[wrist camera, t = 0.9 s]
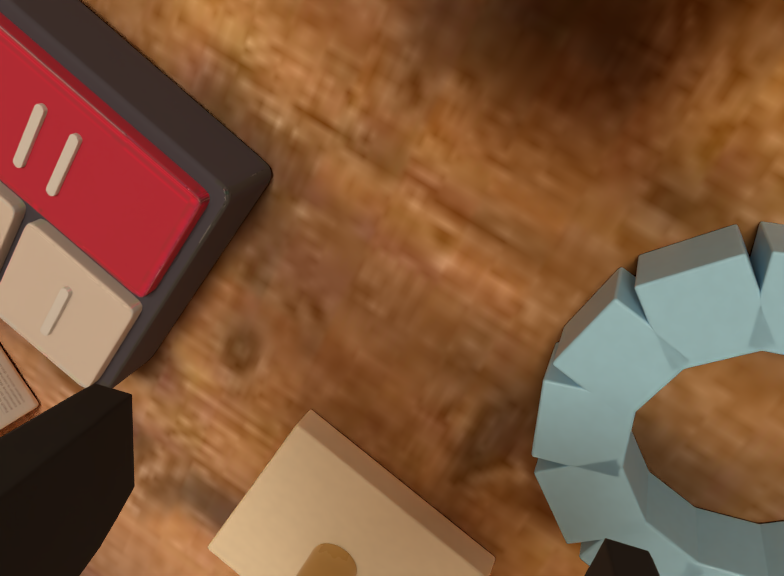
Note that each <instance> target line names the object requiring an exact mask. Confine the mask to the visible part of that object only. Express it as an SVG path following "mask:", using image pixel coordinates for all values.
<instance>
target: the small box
mask: <svg viewBox="0 0 784 576" xmlns="http://www.w3.org/2000/svg"><path fill="white" fill-rule="evenodd" d="M38 405H39V403H38V401H37V400H36V398H35V397H34V395H33V394H32V392H31V391H30V389H29V388H28V386H27V385H26V384H25V382H24V381H23V379H22V378H21V376H20V375H19V373H18V372H17V370H16V369H15V367H14V366H13V364H12V363H11V361H10V360H9V358H8V357H7V355H6V354H5V352H4V350H3V349H2V347H1V346H0V430H1V429H3V428H4V427H6V426H7V425H9V424H11V423H12V422H14V421H15V420H17V419H19V418H20V417H22V416H24V415H25V414H27V413H29V412H30V411H32V410H34V409H35V408H37V407H38Z"/></svg>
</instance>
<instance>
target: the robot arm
mask: <svg viewBox="0 0 784 576" xmlns="http://www.w3.org/2000/svg"><path fill="white" fill-rule="evenodd" d="M133 488H134V454H133V419H132V394H129V393H125V392H122V391H119V390H115V389H112V388H109V387H106V386H102V385H99V384H96V383H94V384H92V385H90V386H89V387H87V388H85V389H83V390H82V391H80V392H78V393H76V394H74V395H73V396H71V397H69V398H67V399H66V400H64V401H62V402H60V403H59V404H57V405H55V406H54V407H52V408H50V409H48V410H47V411H45V412H43V413H42V414H40V415H38V416H36V417H35V418H33V419H31V420H30V421H28V422H26V423H24V424H23V425H21V426H19V427H18V428H16V429H14V430H12V431H11V432H9V433H7V434H5V435H4V436H2V437H0V576H79V575H80V574H81V573H82V571H83V570H84V569H85V567H86V566H87V564H88V563H89V562H90V560H91V559H92V557H93V556H94V555H95V553H96V552H97V550H98V549H99V548H100V546H101V544H102V543H103V541H104V539H105V537H106V536H107V534H108V532H109V531H110V529H111V527H112V526H113V524H114V522H115V521H116V519H117V517H118V515H119V513H120V512H121V510H122V508H123V506H124V504H125V503H126V501H127V499H128V497H129V495H130V494H131V492H132V490H133ZM585 576H660V575H659V572H658V570H657V568H656V565H655V563H654V561H653V558H652V557H651V555H650V553H649V551H647V550H644V549H640V548H637V547H634V546H630V545H627V544H624V543H620V542H617V541H614V540H611V539H607V538H605V539H604V541H603V543H602V545H601V547H600V548H599V550H598V552H597V554H596V556H595V558H594V559H593V561H592V563H591V565H590V567H589V568H588V570H587V572H586V574H585Z"/></svg>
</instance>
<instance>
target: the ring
mask: <svg viewBox="0 0 784 576" xmlns="http://www.w3.org/2000/svg"><path fill="white" fill-rule="evenodd" d="M758 351H766V352H771V353H777V354H782V355H784V225H783V224H776V223H768V222H760V224H759V227H758V231H757V235H756V238H755V242H754V245H753V249H752V253H751V256H750V257H749V254H748V252H747V249H746V246H745V243H744V241H743V238H742V235H741V233H740V230H739V227H738V226H737V225H731V226H728V227H725V228H722V229H719V230H716V231H713V232H710V233H707V234H704V235H700V236H697V237H694V238H691V239H688V240H685V241H682V242H679V243H676V244H672V245H669V246H666V247H663V248H660V249H657V250H654V251H651V252H648V253H644V254H641V255H640V256H639V257H638V265H637V272H636V277H635V276H633V275H632V274H631V273H629V272H628V271H627V270H625V269H624V268H622V267H621V268H619V269H618V270H617V271H616V272H615V273H614V274H613V275H612V276H611V277H610V278H609V279H608V280H607V282H606V283H605V284H604V285H603V286H602V287H601V288H600V289H599V290H598V291H597V292H596V293H595V294H594V295H593V296H592V297H591V298H590V300H589V301H588V302H587V303H586V304H585V305H584V306H583V307H582V308H581V309H580V310H579V311H578V312H577V313H576V314H575V315H574V317H573V318H572V319H571V320H570V321H569V322H568V323H567V324H566V325H565V326H564V329H563V332H562V335H561V339H560V342H557V343H556V344H555V347H554V350H553V353H552V355H551V358H550V361H549V364H548V367H547V370H546V373H545V376H544V379H543V383H542V390H541V396H540V402H539V409H538V415H537V421H536V428H535V434H534V440H533V447H532V456H533V457H536V458H538V461H537V464H536V467H535V471H534V474H535V476H536V478H537V480H538V482H539V485H540V487H541V489H542V491H543V493H544V495H545V497H546V500H547V502H548V504H549V506H550V508H551V510H552V513H553V515H554V517H555V519H556V521H557V523H558V525H559V528H560V530H561V532H562V534H563V536H564V538H565V540H566V543H567V544H570V543H578V542H581V548H580V554H579V557H580V559H581V560H583V561H584V562H585V563H586V564H588V565H589V566H590V565H591V563H592V561H593V559H594V558H595V556H596V554H597V552H598V550H599V548H600V547H601V545H602V543H603V541H604V539H605V538H607V539H611V540H614V541H617V542H620V543H624V544H627V545H630V546H634V547H637V548H640V549H644V550H647V551H649V553H650V555H651V557H652V558H653V561H654V563H655V565H656V568H657V570H658V572H659V575H660V576H784V521H780V522H773V523H765V524H757V523H753V522H749V521H745V520H741V519H738V518H734V517H730V516H726V515H722V514H719V513H715V512H711V511H707V510H703V509H699V508H696V507H694V506H693V505H691V504H690V503H689V502H687V501H686V500H685V499H684V498H682V497H681V496H680V495H678V494H677V493H676V492H675V491H673V490H672V489H671V488H670V487H668V486H667V485H666V484H664V483H663V482H662V481H661V480H659V479H658V478H657V477H655V476H654V475H653V474H652V473H650V472H649V471H648V468H647V466H646V464H645V461H644V459H643V456H642V454H641V452H640V449H639V447H638V445H637V442H636V440H635V438H634V435H633V433H632V431H631V430H632V426H633V421H634V417H635V412H636V411H637V410H638V409H639V408H641V407H642V406H643V405H644V404H645V403H646V402H647V401H648V400H650V399H651V398H652V397H653V396H654V395H655V394H656V393H657V392H659V391H660V390H661V389H662V388H663V387H664V386H665V385H666V384H668V383H669V382H670V381H671V380H672V379H673V378H674V377H675V376H677V375H678V374H679V373H680V372H681V371H682V370H683V369H686V368H690V367H694V366H699V365H703V364H707V363H711V362H715V361H720V360H724V359H728V358H732V357H737V356H741V355H745V354H749V353H753V352H758Z"/></svg>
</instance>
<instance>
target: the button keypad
mask: <svg viewBox="0 0 784 576" xmlns="http://www.w3.org/2000/svg"><path fill="white" fill-rule="evenodd" d="M270 179H271V170H270V168H269V166H268V165H267V164H266V163H265V162H264V161H263V160H262V159H261V158H260V157H259V156H258V155H257V154H255V153H254V152H253V151H252V150H251V149H250V148H249V147H247V146H246V145H245V144H244V143H243V142H242V141H240V140H239V139H238V138H237V137H236V136H235V135H234V134H232V133H231V132H230V131H229V130H228V129H227V128H225V127H224V126H223V125H222V124H221V123H220V122H219V121H217V120H216V119H215V118H214V117H213V116H212V115H210V114H209V113H208V112H207V111H206V110H205V109H204V108H202V107H201V106H200V105H199V104H198V103H197V102H195V101H194V100H193V99H192V98H191V97H190V96H189V95H187V94H186V93H185V92H184V91H183V90H182V89H180V88H179V87H178V86H177V85H176V84H175V83H174V82H172V81H171V80H170V79H169V78H168V77H167V76H166V75H164V74H163V73H162V72H161V71H160V70H159V69H157V68H156V67H155V66H154V65H153V64H152V63H151V62H149V61H148V60H147V59H146V58H145V57H144V56H142V55H141V54H140V53H139V52H138V51H137V50H136V49H134V48H133V47H132V46H131V45H130V44H129V43H127V42H126V41H125V40H124V39H123V38H122V37H121V36H119V35H118V34H117V33H116V32H115V31H114V30H112V29H111V28H110V27H109V26H108V25H107V24H106V23H104V22H103V21H102V20H101V19H100V18H99V17H97V16H96V15H95V14H94V13H93V12H92V11H91V10H89V9H88V8H87V7H86V6H85V5H84V4H82V3H81V2H80V1H79V0H0V318H1V319H2V320H3V321H5V322H6V323H7V324H8V325H9V326H11V327H12V328H13V329H14V330H15V331H16V332H18V333H19V334H20V335H21V336H22V337H24V338H25V339H26V340H27V341H28V342H29V343H31V344H32V345H33V346H34V347H35V348H36V349H38V350H39V351H40V352H41V353H42V354H44V355H45V356H46V357H47V358H48V359H49V360H51V361H52V362H53V363H54V364H55V365H57V366H58V367H59V368H60V369H61V370H62V371H64V372H65V373H66V374H67V375H68V376H70V377H71V378H72V379H73V380H74V381H75V382H77V383H78V384H79V385H81V386H82V387H84V388H87V387H89V386H90V385H92V384H94V383H96V384H99V385H102V386H106V387H109V388H114V387H115V386H116V385H117V384H119V383H120V382H121V381H123V380H124V379H125V378H126V377H128V376H129V375H130V374H132V373H133V372H134V371H135V370H137V369H138V368H139V367H140V366H142V365H143V364H144V363H145V362H147V361H148V360H149V359H150V358H151V357H152V356H153V355H154V353H155V352H156V350H157V349H158V347H159V346H160V344H161V343H162V341H163V340H164V338H165V337H166V335H167V334H168V333H169V331H170V330H171V328H172V327H173V325H174V324H175V322H176V321H177V319H178V318H179V316H180V315H181V313H182V312H183V310H184V309H185V307H186V306H187V304H188V303H189V301H190V300H191V298H192V297H193V295H194V294H195V292H196V291H197V289H198V288H199V286H200V285H201V283H202V282H203V280H204V279H205V277H206V276H207V274H208V273H209V271H210V270H211V268H212V267H213V265H214V264H215V262H216V261H217V259H218V258H219V256H220V255H221V254H222V252H223V251H224V249H225V248H226V246H227V245H228V243H229V242H230V240H231V239H232V237H233V236H234V234H235V233H236V231H237V230H238V228H239V227H240V225H241V224H242V222H243V221H244V219H245V218H246V216H247V215H248V213H249V212H250V210H251V209H252V207H253V206H254V204H255V203H256V201H257V200H258V198H259V197H260V195H261V194H262V192H263V191H264V189H265V188H266V186H267V185H268V183H269V181H270Z"/></svg>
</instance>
